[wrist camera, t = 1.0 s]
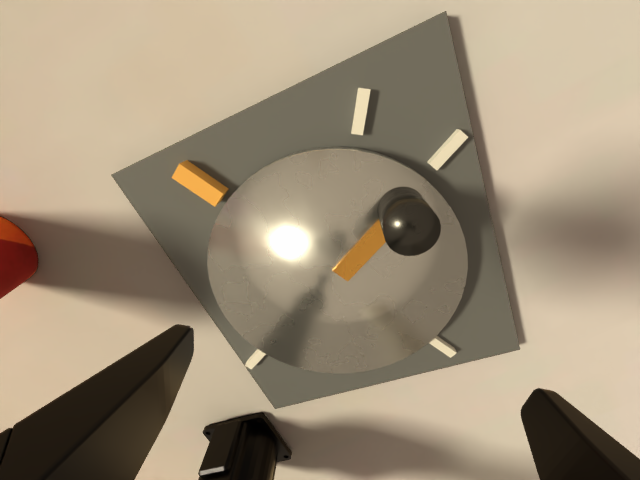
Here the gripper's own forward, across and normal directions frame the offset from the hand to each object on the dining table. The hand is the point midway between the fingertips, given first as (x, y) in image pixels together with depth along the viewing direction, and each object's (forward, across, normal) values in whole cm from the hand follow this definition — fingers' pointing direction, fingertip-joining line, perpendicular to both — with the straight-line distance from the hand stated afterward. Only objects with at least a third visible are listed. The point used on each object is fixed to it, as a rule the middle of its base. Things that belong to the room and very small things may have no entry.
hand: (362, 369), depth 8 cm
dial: (+12, 0, +4) cm, 12 cm away
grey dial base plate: (+13, 0, +4) cm, 13 cm away
